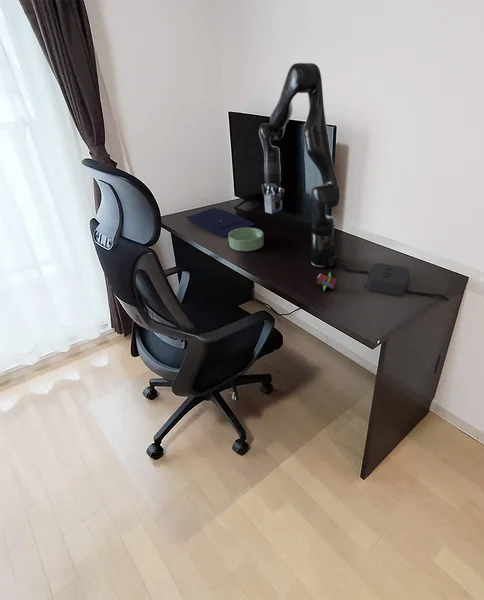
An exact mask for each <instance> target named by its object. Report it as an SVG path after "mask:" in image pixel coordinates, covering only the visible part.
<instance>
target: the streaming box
mask: <svg viewBox="0 0 484 600" xmlns="http://www.w3.org/2000/svg"><path fill="white" fill-rule="evenodd" d="M410 273H411V271H410V269H409V268H408V267H403V266H399V265H398V266H397V265H394V264H393V265H392V264H386V263H380V262H379V263H378V262H377V263H373V264H372V265H371V268H370V270H369V273H367V278H366V285H365V286H366V289H368V291H373V292H377V293H383V294H386V295H387V294H388V295H393V296H403V295H404V294H405V293H406V292H405V290H407V287H408V284H409V278H410Z"/></svg>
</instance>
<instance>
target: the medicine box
mask: <svg viewBox="0 0 484 600" xmlns="http://www.w3.org/2000/svg"><path fill="white" fill-rule="evenodd" d="M276 195H277V194H276ZM263 198H264V199H263V200H264V212H265V213H267V214H271V215H273V214H275V213H276V214H277V213H278V212H281V211H283V200H281V201H280V208H279V209H275V197H274V195H273V194H272V193H269V194H266V193H265V195H264V196H263ZM277 199H278V196H277Z"/></svg>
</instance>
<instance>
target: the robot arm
mask: <svg viewBox="0 0 484 600" xmlns="http://www.w3.org/2000/svg"><path fill="white" fill-rule="evenodd" d="M284 80H285V81H284V83H283V85H282V89H281V93H280V96H279V99H278V101H277V103H276V105H275V107H274V109H273V110H272V112H271V114H270V117H269V122H267V123H266V122H265V123H262V124H260V126H259V129H258V136H259V139H260V141H261V146H262V150H263V160H264V162H263V163H264V164H263V174H264V182H265V183H262V184H260V185H261V192H262V196H263V197H264V195H265V194H269V193H272V194H273V195H274V197H275V209H279V208H280V201H281V200H282V201H284V199H285V192H286V188H285V187H282V186H281V181H282V172H281V171H282V170H281V168H282V167H281V158H280V157H281V153H280V148H279V147H278V146H275V145H272V143H271V142H274V141H279V140H281V139H282V138H283V137H284V133H285V129H286V126H287V123H288V122H289V120H290V119H291V118H292V115H293V112H294V111H293V110H294V107H293V99H294V97H295V96H296V95H297V94H307V96H308V104H309V106H308V108H309V109H308V114H307V118H306V121H305V123H304V126H303V133H302V135H303V140H304V145H305V150H306V153H307V155H308V157H309V159H310V160H311V161H312V163H313V164H314V165H315V166H316V168H317V169H318V171H319V173H320V176H321V181H322V185H320V184H319V185H317V186H313V188H312V189H310V193H309V215H310V220H311V237H310V238H311V242H310V244H311V245H310V265H311V266H313V267H315V268H320V269H327V268H329V267H333V266H335V265H336V264H338V265H339V266H342V267H343V268H344V269H345V270H346V271H347V272H350V273H365V274H368V273H369V272H370V270H369V271H368V270H355V269H349V268H348V267H347V266H346V265H344V263H342V262H340V261H339V255H335V254H336V243H335V242H334V236H335V221H336V220H335V218H334V217H333V216H331V215H328V214H327V210H329V209H332V208H335V207H338V206H339V205H340V202H341V191H340V186H339V183H338V178H337V175H336V170H335V166H334V161H333V157H332V150H331V143H330V137H329V130H328V125H327V120H326V119H327V118H326V113H325V105H324V93H323V80H322V74H321V70H320V68H319V66H318V65H317V64H316V63H313V62H296V63H293V64H292V65H291V66H290V68H289V69H288V72H287V74H286V77H285V79H284ZM276 194H277V195H276ZM277 196H278V199H277ZM405 293H408V294H416V295H422V296H428V297H440V298H443V299H444V300H445V301H446V302H449V301H450V299H449V298H448V297H447V296H446V295H444V294H441V293H428V292H422V291H414V290H407V289H406V290H405ZM441 357H442V355H441V354H438V356H437V360H436V363H435V367H434V371H433V373H434V374H437V370H438V367H439V363H440V359H441Z"/></svg>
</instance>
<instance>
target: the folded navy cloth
mask: <svg viewBox="0 0 484 600" xmlns="http://www.w3.org/2000/svg"><path fill="white" fill-rule="evenodd" d="M185 218H186V219H187V220H188V221H189V222H191V223H192V224H193V225H195V226H198V227H200V228H202V229H204V230H206V231H208V232H211V233H212V234H214V235H216V236H218V237H221V238H223V239H224V238H226V237H228V234H229V232H231V231H232V230H235V229H239V228H250V227H251V226H254V225H256V223H254V222H253V221H250V220H249V219H246V218H244V217H242V216H240V215H237V214H235V213H233V212H231V211H227V210H224V209H222V208H216V207H211V208H209V209H206V210H203V211H200V212H197V213H194V214H191V215H188V216H185Z"/></svg>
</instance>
